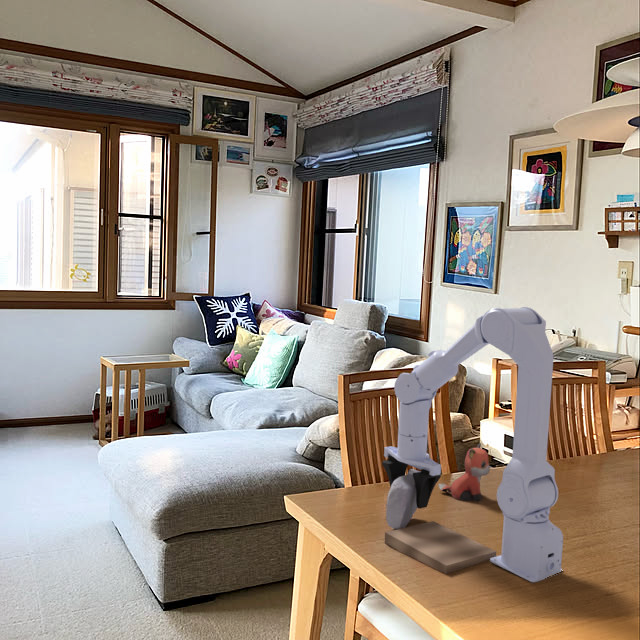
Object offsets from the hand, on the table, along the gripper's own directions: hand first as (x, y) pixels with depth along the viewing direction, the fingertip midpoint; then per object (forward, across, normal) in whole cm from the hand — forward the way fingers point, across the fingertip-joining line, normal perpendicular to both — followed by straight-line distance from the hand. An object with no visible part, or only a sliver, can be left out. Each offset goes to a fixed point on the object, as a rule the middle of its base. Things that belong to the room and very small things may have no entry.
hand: (409, 501), depth 141 cm
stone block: (+5, 0, 0) cm, 5 cm away
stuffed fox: (+5, +7, -22) cm, 23 cm away
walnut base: (+5, -13, +4) cm, 14 cm away
